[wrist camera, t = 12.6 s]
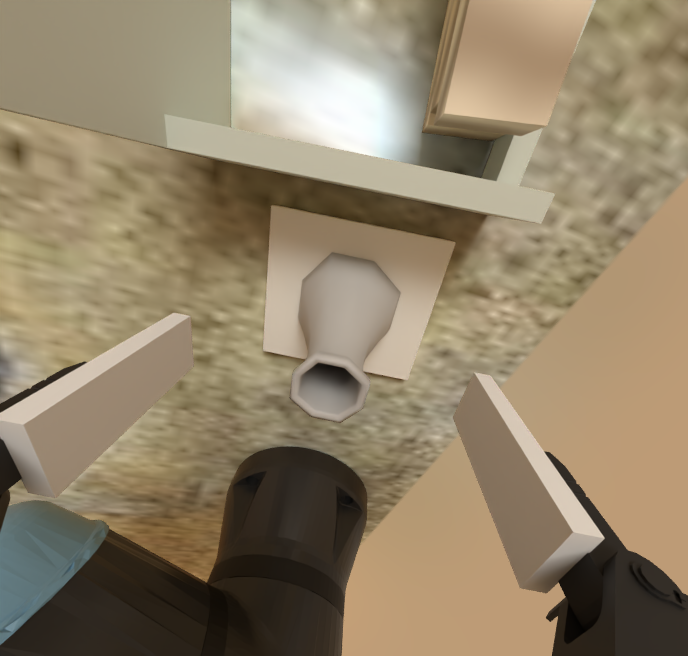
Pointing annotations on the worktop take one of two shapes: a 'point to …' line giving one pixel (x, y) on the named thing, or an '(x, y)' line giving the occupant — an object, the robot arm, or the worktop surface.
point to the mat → (362, 242)
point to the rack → (207, 100)
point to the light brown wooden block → (501, 65)
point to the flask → (340, 334)
